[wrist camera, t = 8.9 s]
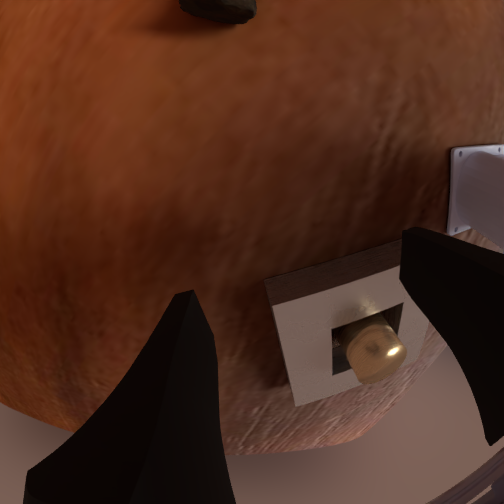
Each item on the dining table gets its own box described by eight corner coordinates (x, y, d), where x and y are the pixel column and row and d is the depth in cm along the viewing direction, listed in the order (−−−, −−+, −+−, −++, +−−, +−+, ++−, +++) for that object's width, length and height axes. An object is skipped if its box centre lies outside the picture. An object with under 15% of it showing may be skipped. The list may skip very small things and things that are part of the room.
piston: (371, 289, 22) (407, 336, 17) (376, 321, 24) (406, 365, 19) (326, 312, 22) (354, 365, 17) (335, 342, 25) (360, 390, 19)
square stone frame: (422, 231, 20) (444, 248, 18) (404, 341, 27) (417, 359, 24) (263, 279, 20) (272, 306, 17) (288, 383, 27) (295, 406, 24)
